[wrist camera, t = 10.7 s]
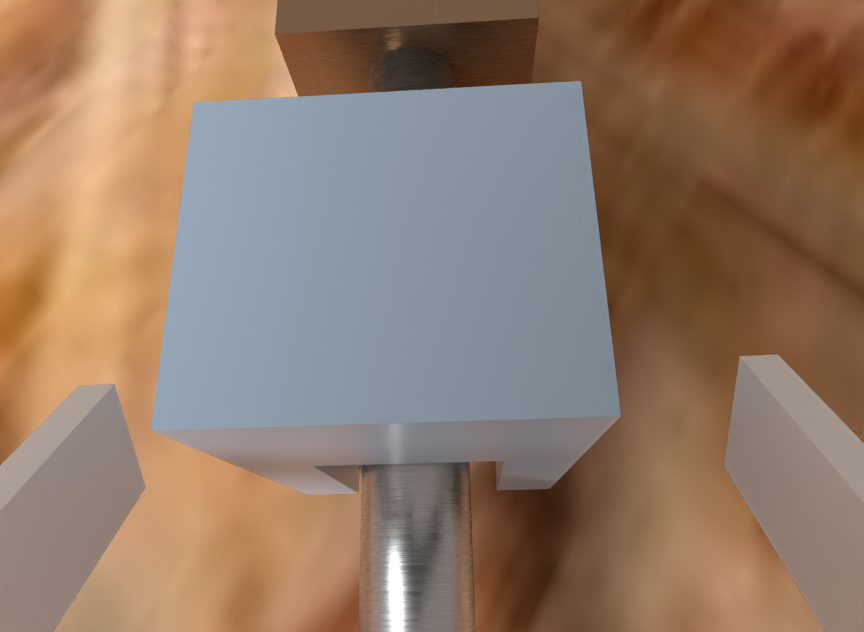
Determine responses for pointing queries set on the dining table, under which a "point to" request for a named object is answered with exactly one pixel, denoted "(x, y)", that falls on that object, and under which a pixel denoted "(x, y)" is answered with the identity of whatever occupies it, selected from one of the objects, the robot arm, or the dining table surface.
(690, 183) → the dining table surface
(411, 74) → the pipe rig
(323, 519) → the dining table surface
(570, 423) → the sleeve
